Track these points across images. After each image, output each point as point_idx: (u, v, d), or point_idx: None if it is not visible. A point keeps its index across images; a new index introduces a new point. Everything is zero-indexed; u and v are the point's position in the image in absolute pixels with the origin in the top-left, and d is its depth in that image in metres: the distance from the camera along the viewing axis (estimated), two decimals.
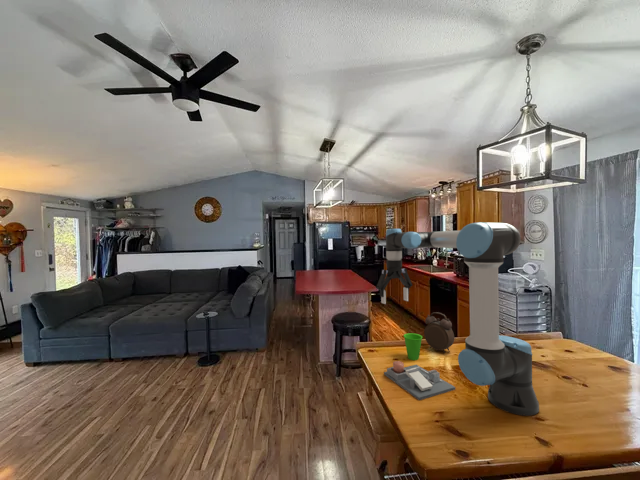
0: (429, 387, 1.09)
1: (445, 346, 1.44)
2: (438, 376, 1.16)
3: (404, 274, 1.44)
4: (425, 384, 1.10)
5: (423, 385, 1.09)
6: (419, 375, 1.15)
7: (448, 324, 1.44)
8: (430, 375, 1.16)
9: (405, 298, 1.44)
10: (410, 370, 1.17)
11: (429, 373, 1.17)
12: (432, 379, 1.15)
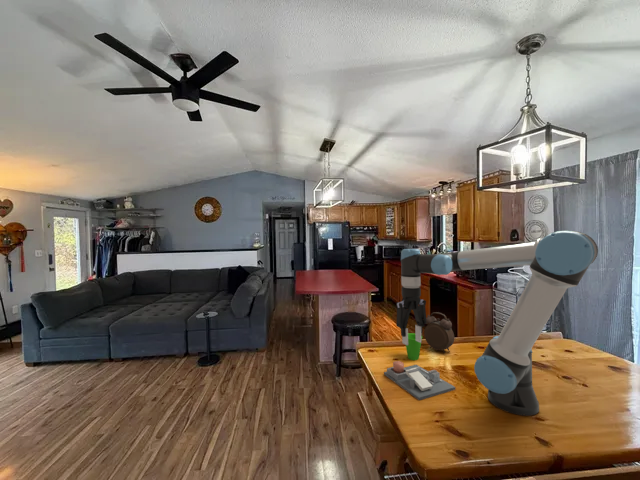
0: (429, 387, 1.09)
1: (445, 346, 1.44)
2: (438, 376, 1.16)
3: (421, 306, 1.19)
4: (425, 384, 1.10)
5: (423, 385, 1.09)
6: (419, 375, 1.15)
7: (448, 324, 1.44)
8: (430, 375, 1.16)
9: (418, 339, 1.18)
10: (410, 370, 1.17)
11: (429, 373, 1.17)
12: (432, 379, 1.15)
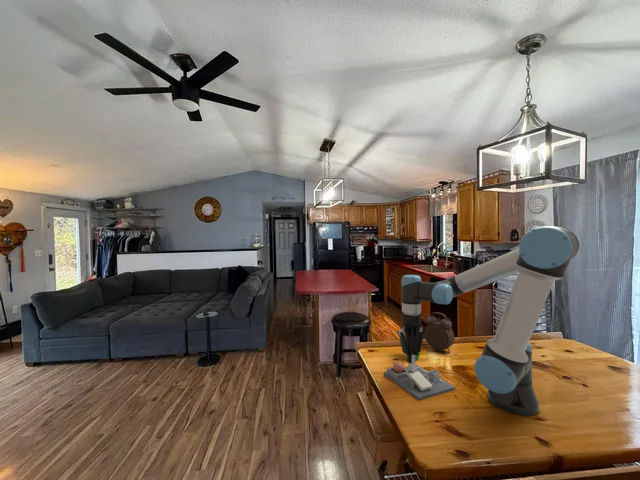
0: (429, 387, 1.09)
1: (445, 346, 1.44)
2: (438, 376, 1.16)
3: (419, 334, 1.18)
4: (425, 384, 1.10)
5: (423, 385, 1.09)
6: (419, 375, 1.15)
7: (448, 324, 1.44)
8: (430, 375, 1.16)
9: None
10: (410, 370, 1.17)
11: (429, 373, 1.17)
12: (432, 379, 1.15)
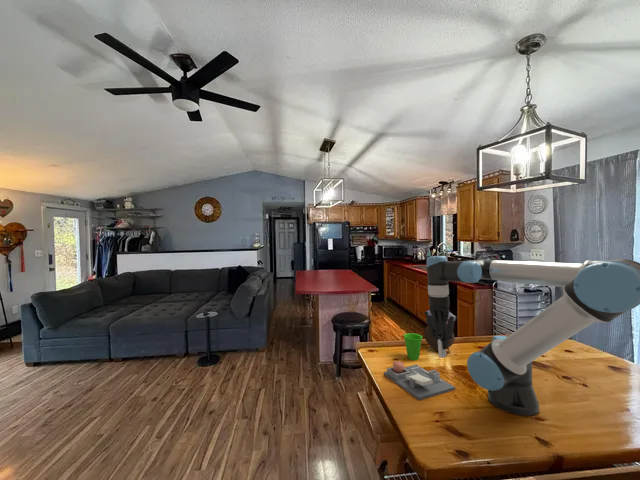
0: (429, 381, 1.09)
1: None
2: (438, 376, 1.16)
3: None
4: (425, 380, 1.10)
5: (423, 381, 1.09)
6: (419, 376, 1.15)
7: None
8: (430, 375, 1.16)
9: None
10: (409, 374, 1.17)
11: (429, 373, 1.17)
12: (432, 379, 1.15)
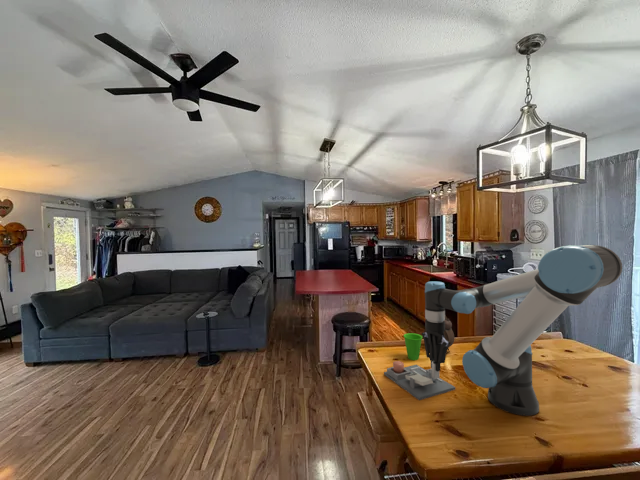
0: (429, 381, 1.09)
1: None
2: None
3: None
4: (425, 379, 1.10)
5: (423, 380, 1.10)
6: (419, 376, 1.15)
7: (448, 324, 1.44)
8: (428, 374, 1.18)
9: None
10: (409, 374, 1.17)
11: (427, 372, 1.18)
12: (430, 378, 1.17)
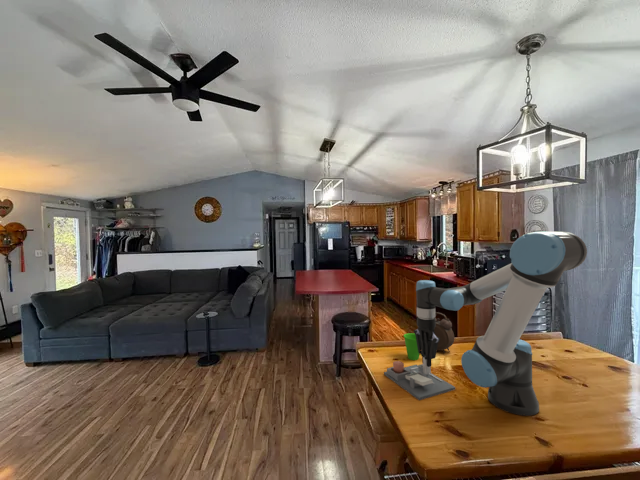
0: (429, 381, 1.09)
1: (445, 346, 1.44)
2: None
3: None
4: (425, 379, 1.10)
5: (423, 380, 1.10)
6: (419, 376, 1.15)
7: (448, 324, 1.44)
8: (419, 369, 1.22)
9: None
10: (409, 374, 1.17)
11: (418, 367, 1.23)
12: (421, 372, 1.21)
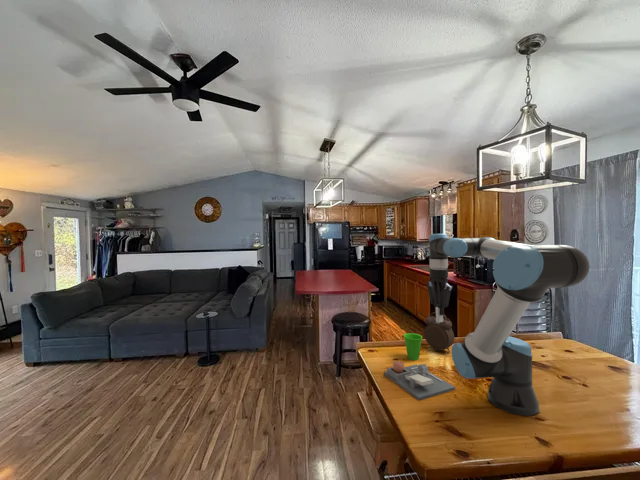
0: (429, 381, 1.09)
1: (445, 346, 1.44)
2: (427, 369, 1.21)
3: None
4: (425, 379, 1.10)
5: (423, 380, 1.10)
6: (419, 376, 1.15)
7: (448, 324, 1.44)
8: (419, 369, 1.22)
9: None
10: (409, 374, 1.17)
11: (418, 367, 1.23)
12: (421, 372, 1.21)
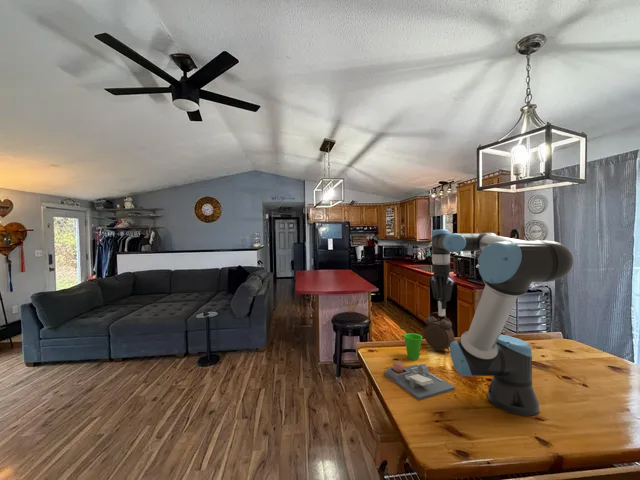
0: (429, 381, 1.09)
1: (445, 346, 1.44)
2: (427, 369, 1.21)
3: None
4: (425, 379, 1.10)
5: (423, 380, 1.10)
6: (419, 376, 1.15)
7: (448, 324, 1.44)
8: (419, 369, 1.22)
9: None
10: (409, 374, 1.17)
11: (418, 367, 1.23)
12: (421, 372, 1.21)
